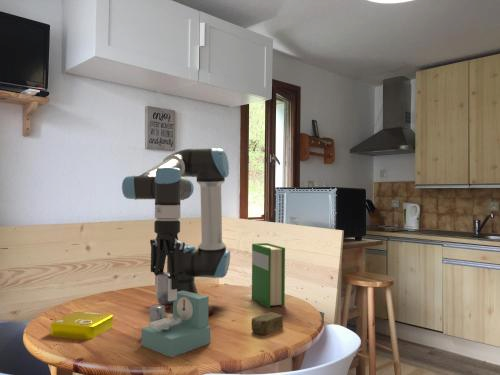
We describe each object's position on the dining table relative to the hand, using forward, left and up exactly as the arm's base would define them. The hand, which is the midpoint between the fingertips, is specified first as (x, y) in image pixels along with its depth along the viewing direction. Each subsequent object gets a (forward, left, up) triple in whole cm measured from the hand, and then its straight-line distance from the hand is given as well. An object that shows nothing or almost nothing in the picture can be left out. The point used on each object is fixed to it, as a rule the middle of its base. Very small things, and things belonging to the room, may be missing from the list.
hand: (166, 298), depth 122 cm
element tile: (+8, -33, -15) cm, 37 cm away
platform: (0, 0, -9) cm, 9 cm away
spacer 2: (0, 0, -1) cm, 1 cm away
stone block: (-33, +12, -15) cm, 39 cm away
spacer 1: (-8, -14, -15) cm, 22 cm away
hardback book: (-63, -11, -15) cm, 65 cm away
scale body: (-4, 0, -14) cm, 15 cm away
